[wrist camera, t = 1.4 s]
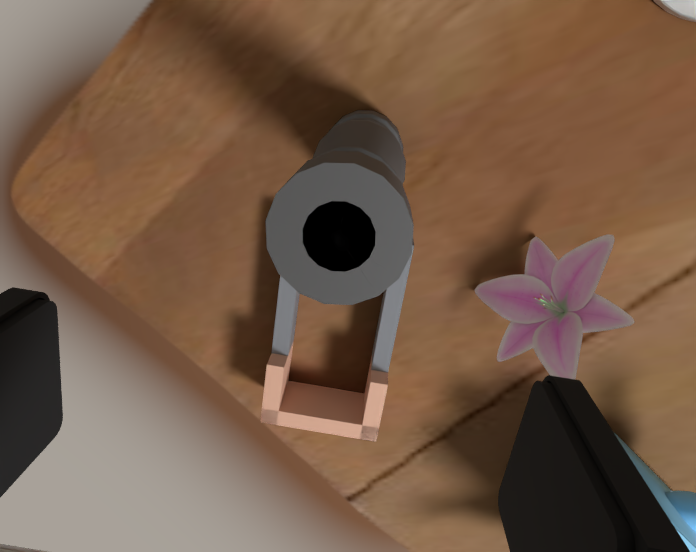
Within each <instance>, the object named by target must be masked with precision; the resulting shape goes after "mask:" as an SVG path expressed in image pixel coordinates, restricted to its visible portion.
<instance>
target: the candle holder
mask: <svg viewBox="0 0 696 552" xmlns="http://www.w3.org/2000/svg"><path fill="white" fill-rule="evenodd" d="M405 163H406V160H405V157H404V154H403V144H402V141H401V138H400V135H399V132H398V130H397V128H396V126H395V125H394V124H393V123H392V122H391V121H390V120H389V119H388V118H387V117H386V116H384V115H382V114H380V113H377V112H375V111H373V110H357V111H354V112H352V113H350V114H347V115H345V116H343V117H342V118H341V119H340V120H339V121H338V122H337V123H336V124H335V125H334V126H333V127H332V128H331V129H330V130H329V132H328V133H327V134H326V135H325V136H324V137H323V138H322V139H321V140H320V141H319V143H318V146H317V148H316V151H315V153H314V156H313V158H312V159H311V160H308V161H307V162H306V163H305V164H304V165H303V166H302V167H301V168H300V169H299V170H298V171H297V172H296V173H295V174H294V175H293V176H292V177H291V178H290V179H289V180H288V181H287V183H286V184H285V185H284V186H283V187H282V188H281V189H280V190H279V191H278V192H277V194H276V195H275V198H274V200H273V203H272V206H271V208H270V211H269V213H268V216H267V218H266V241H267V250H268V252H269V254H270V256H271V259H272V261H273V263H274V265H275V267H276V269H277V271H278V274H279V275H280V276H281V277H282V278H284V279H285V280H286V281H287V282H288V283H289V284H290V285H291V286H292V287H293V288H294V289H295V290H296V291H297V292H298V293H300V294H302V295H305V296H307V297H309V298H312V299H314V300H317V301H319V302H321V303H324V304H342V305H353V304H356V303H359V302H362V301H365V300H368V299H371V298H374V297H377V296H379V295H380V294H381V293H383V292H384V291H385V290H386V289H387V288H388V287H390V286H391V285H392V284H393V283H394V282H396V281H397V280H398V279H399V278H400V276H401V274H402V272H403V270H404V268H405V266H406V264H407V262H408V260H409V258H410V256H411V254H412V241H413V220H412V214H411V209H410V204H409V202H408V199H407V196H406V193H405V191H404V188H403V185H402V184H403V182H404V180H405Z"/></svg>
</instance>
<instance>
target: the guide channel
mask: <svg viewBox="0 0 696 552" xmlns="http://www.w3.org/2000/svg"><path fill="white" fill-rule="evenodd" d="M413 249H414V242H413V241H412V254H413ZM412 254H411V256H410V258H409V260H408V262H407V264H406V266H405V268H404V270H403V272H402V274H401V276H400V278H399V279H398V280H397V281H396V282H394V283H393V284H392V285H391V286H390V287H388V288H387V289H386V290H385V291H384V294H383V299H382V304H381V309H380V315H379V320H378V325H377V330H376V335H375V341H374V346H373V351H372V356H371V362H370V367H369V372H368V377H367V383H366V388H365V393H359V392H353V391H347V390H341V389H335V388H329V387H323V386H317V385H311V384H305V383H299V382H293V381H288V380H289V372H290V364H291V356H292V349H293V341H294V333H295V325H296V318H297V310H298V302H299V294H300V293H298V292H297V291H296V290H295V289H294V288H293V287H292V286H291V285H290V284H289V283H288V282H287V281H286V280H285V279H284V278H282V277H281V276H280V282H279V291H278V300H277V309H276V318H275V327H274V336H273V345H272V353H271V356H270V358H269V361H268V363H267V368H266V377H265V386H264V395H263V404H262V413H261V422H262V423H268V424H274V425H280V426H286V427H292V428H298V429H304V430H310V431H316V432H322V433H328V434H334V435H339V436H345V437H351V438H357V439H363V440H369V441H375V442H376V440H377V435H378V430H379V425H380V421H381V416H382V411H383V406H384V401H385V397H386V392H387V387H388V370H389V365H390V360H391V355H392V350H393V346H394V341H395V336H396V331H397V326H398V321H399V317H400V312H401V307H402V302H403V297H404V292H405V287H406V283H407V278H408V273H409V268H410V263H411V258H412Z"/></svg>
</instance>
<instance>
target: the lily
mask: <svg viewBox="0 0 696 552" xmlns="http://www.w3.org/2000/svg"><path fill="white" fill-rule="evenodd" d="M613 243H614V236H613V235H604V236H601V237H598V238H596V239H594V240H591V241H589V242H587V243H585V244H583V245H581V246H579V247H577V248H575V249H573V250H572V251H570V252H568V253H567V254H565V255H564V256H563V257H562V258H560V259H559V260H557V258H556V257H555V255H554V254H553V253H552V252H551V250H550V249H549V248H548V247H547V246H546V245H545V244H544V243H543V242H542V240H540V239H539V238H538V237H534V238H533V239H532V240H531V242H530V245H529V249H528V253H527V257H526V263H525V275H524V274H517V275H509V276H503V277H499V278H496V279H492V280H489V281H486V282H483V283H481V284H479V285H478V286H477V287H476V289H475V293H476V294H477V296H478V297H479V298H480V299H481V300H482V301H483V302H484V303H485V304H486V305H487V306H489V307H490V308H491V309H492V310H494V311H495V312H496V313H498V314H499V315H500V316H502V317H503V318H505V319H507V320H509V321H511V322H510V324H509V326H508V328H507V330H506V332H505V334H504V336H503V339H502V341H501V344H500V347H499V350H498V354H497V361H499V362H501V361H505V360H508V359H510V358H513V357H515V356H517V355H519V354H522V353H524V352H526V351H528V350H530V349H532V348H534V351H535V353H536V355H537V357H538V358H539V360H540V361H541V363H542V364H543V366H544V367H545V369H546V370H547V371H548V373H549V374H550V375H551V376H556V377H563V378H569V379H575V378H576V372H577V367H578V360H579V354H580V348H581V343H582V335H583V333H587V332H598V331H605V330H612V329H617V328H622V327H626V326H630V325H632V324H633V323H635V322H634V320H633V318H632V317H631V316H630V315H629V314H627V313H626V312H625V311H623V310H622V309H621V308H619V307H618V306H616V305H615V304H613V303H612V302H610V301H608V300H607V299H605V298H603V297H601V296H599V295H597V294H595V293H594V292H595V289H596V287H597V285H598V282H599V280H600V277H601V275H602V272H603V270H604V267H605V265H606V263H607V260H608V258H609V255H610V253H611V250H612V247H613Z"/></svg>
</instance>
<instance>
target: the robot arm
mask: <svg viewBox="0 0 696 552" xmlns="http://www.w3.org/2000/svg"><path fill="white" fill-rule="evenodd" d="M653 1H654V2H655V3H656V4H657V5H659V6H660V7H661V8H662V9H664V10H665V11H666V12H668V13H670V14H672V15H674V16H676V17H678V18H680V19H684V20H688V21H693V22H696V0H653ZM62 416H63V413H62V394H61V375H60V356H59V336H58V317H57V306H56V304H55V303H54V302H53V301H50V300H49V298H48V295H46V294H45V293H43V292H38V291H32V290H26V289H19V288H10V289H8V290H6V291H4V292H3V293H1V294H0V497H1V496H2V495H3V494H4V493H5V492H6V491H7V490H8V488H9V487H10V486H11V485H12V484H13V483H14V482H15V481H16V479H17V478H18V477H19V476H20V475H21V474H22V473H23V472H24V471H25V470H26V468H27V467H28V466H29V465H30V464H31V463H32V462H33V461H34V460H35V458H36V457H37V456H38V455H39V454H40V453H41V452H42V451H43V450H44V449H45V448H46V446H47V445H48V444H49V443H50V442H51V441H52V440H53V439H54V438H55V436H56V435H57V433H58V432H59V430H60V427H61V424H62V418H63V417H62ZM498 506H499V511H500V515H501V519H502V523H503V526H504V530H505V534H506V538H507V542H508V545H509V549H510V552H690V551H689V549H688V547H687V546H686V544H685V543H684V541H683V540H682V538H681V537H680V535H679V533H678V532H677V530H676V529H675V527H674V526H673V524H672V523H671V521H670V519H669V518H668V516H667V515H666V513H665V512H664V510H663V509H662V507H661V505H660V504H659V502H658V501H657V499H656V498H655V496H654V495H653V493H652V491H651V490H650V488H649V487H648V485H647V484H646V482H645V481H644V479H643V477H642V476H641V474H640V473H639V471H638V470H637V468H636V467H635V465H634V463H633V462H632V460H631V459H630V457H629V456H628V454H627V453H626V451H625V449H624V448H623V446H622V445H621V443H620V442H619V440H618V439H617V437H616V435H615V434H614V432H613V431H612V429H611V428H610V426H609V425H608V423H607V421H606V420H605V418H604V417H603V415H602V414H601V412H600V411H599V409H598V408H597V406H596V404H595V403H594V401H593V400H592V398H591V397H590V395H589V394H588V392H587V390H586V389H585V387H584V386H583V384H582V383H581V382H580V381H579V380H575V379H569V378H563V377H556V376H550V375H548V376H547V377H545V379H544V380H543V382H541V381H536V382H535V383H534V385H533V387H532V390H531V393H530V396H529V399H528V403H527V406H526V409H525V412H524V415H523V418H522V421H521V424H520V427H519V431H518V434H517V437H516V440H515V443H514V446H513V449H512V452H511V455H510V458H509V462H508V465H507V468H506V471H505V474H504V477H503V480H502V483H501V486H500V490H499V496H498ZM0 552H47V551H41V550H34V549H29V548H22V547H16V546H10V545H4V544H0Z"/></svg>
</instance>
